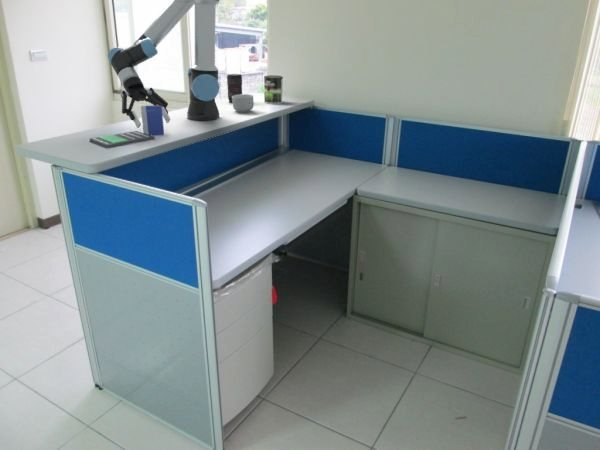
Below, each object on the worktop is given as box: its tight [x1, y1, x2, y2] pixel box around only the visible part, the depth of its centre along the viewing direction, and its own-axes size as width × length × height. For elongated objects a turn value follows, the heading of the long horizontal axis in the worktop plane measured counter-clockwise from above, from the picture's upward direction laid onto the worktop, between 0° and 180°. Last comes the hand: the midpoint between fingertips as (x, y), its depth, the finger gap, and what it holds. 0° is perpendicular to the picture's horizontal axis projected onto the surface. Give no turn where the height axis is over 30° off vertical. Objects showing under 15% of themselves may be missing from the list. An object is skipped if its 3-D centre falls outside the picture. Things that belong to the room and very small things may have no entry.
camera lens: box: [226, 73, 243, 104], centre depth 278 cm, size 8×8×15 cm
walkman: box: [140, 105, 165, 136], centre depth 206 cm, size 8×3×12 cm, turn 96°
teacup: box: [231, 93, 254, 114], centre depth 257 cm, size 14×11×8 cm
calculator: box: [89, 130, 156, 149], centre depth 198 cm, size 20×14×1 cm
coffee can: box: [263, 74, 284, 105], centre depth 280 cm, size 10×10×14 cm
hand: (154, 123), depth 205 cm, fingers open, 13 cm apart
